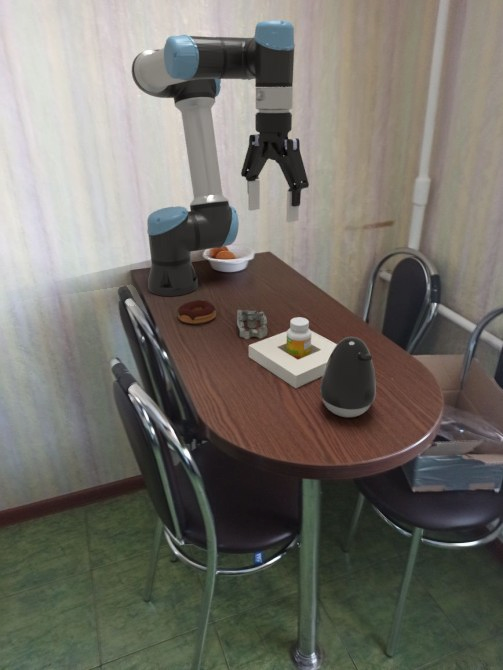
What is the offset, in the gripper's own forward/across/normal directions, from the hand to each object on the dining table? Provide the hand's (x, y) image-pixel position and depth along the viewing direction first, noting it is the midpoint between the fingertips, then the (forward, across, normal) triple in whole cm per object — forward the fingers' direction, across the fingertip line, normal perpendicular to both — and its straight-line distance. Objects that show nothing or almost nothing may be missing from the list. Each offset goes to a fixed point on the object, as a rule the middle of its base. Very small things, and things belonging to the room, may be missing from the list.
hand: (272, 215), depth 107 cm
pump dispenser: (+29, +35, -10) cm, 46 cm away
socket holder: (+29, +16, -5) cm, 33 cm away
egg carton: (+29, -3, -4) cm, 30 cm away
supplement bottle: (+29, +16, -5) cm, 33 cm away
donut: (+29, -17, -12) cm, 36 cm away
